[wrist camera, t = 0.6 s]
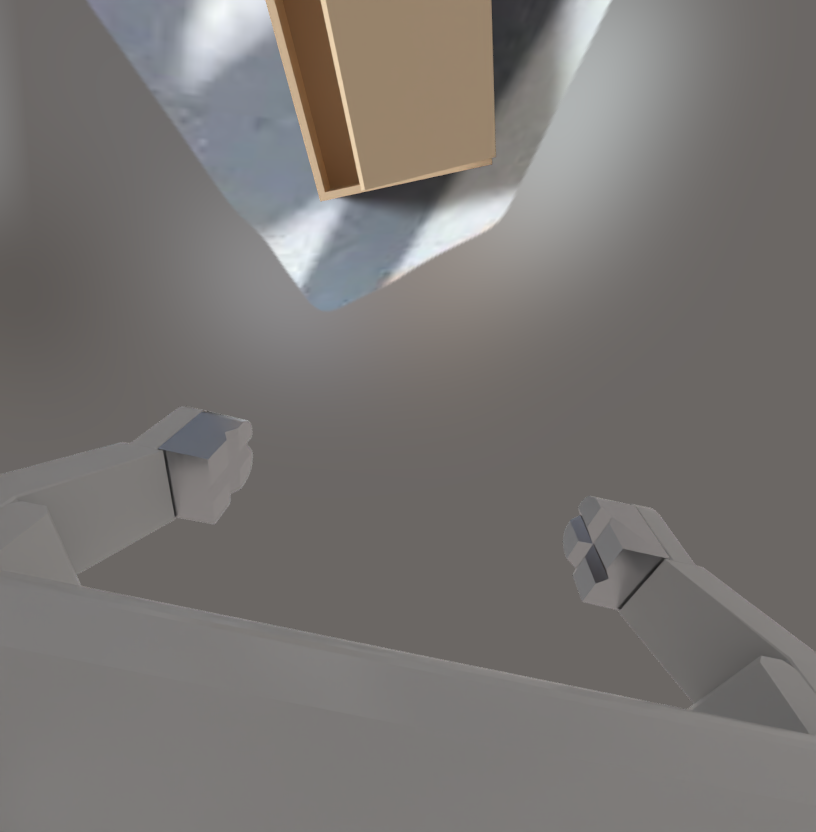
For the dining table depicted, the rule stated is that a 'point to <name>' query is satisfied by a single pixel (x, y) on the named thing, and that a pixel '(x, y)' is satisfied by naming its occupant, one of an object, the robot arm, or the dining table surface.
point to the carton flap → (414, 84)
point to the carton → (322, 98)
